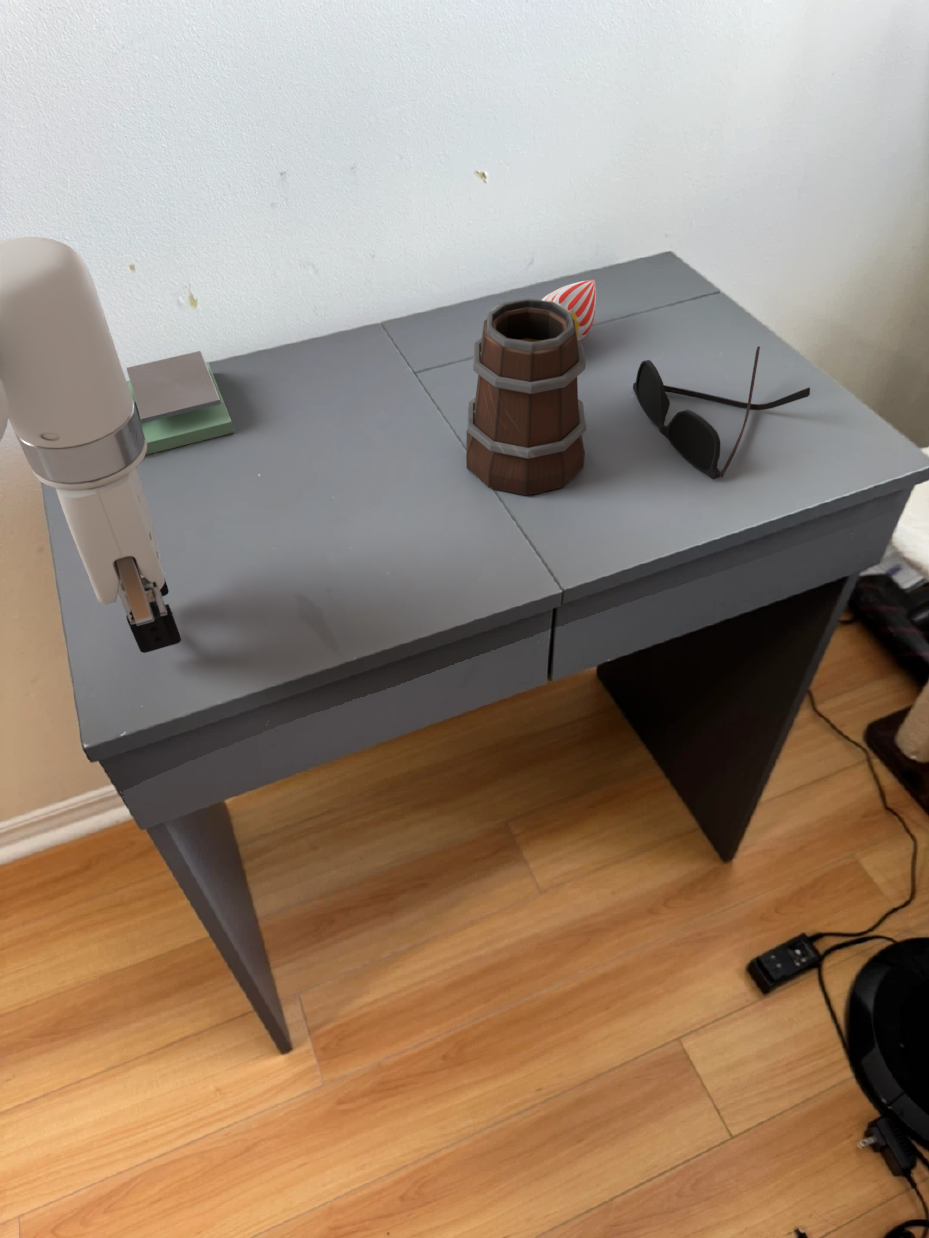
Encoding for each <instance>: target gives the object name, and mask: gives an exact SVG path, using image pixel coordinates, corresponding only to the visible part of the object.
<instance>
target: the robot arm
mask: <svg viewBox="0 0 929 1238" xmlns="http://www.w3.org/2000/svg"><path fill="white" fill-rule="evenodd" d="M109 327H110V326H109V324H108V322H107V318H106V316H105V313H104V310H103V307H102V303H101V300H100V298H99V293H98V291H97V288H96V285H95V282H94V279H93V276H92V274H91V271H90V268H89V267H88V265H87V263H86V261H85V260H84V258H83V257H82V256H81V254H79V252H78V251H76V250H75V249H74V248H73V247H71V246H69V245H68V244H66V243H63V242H62V241H58V240H56V239H53V238H47V237H41V236H40V237H39V236H24V237H23V236H21V237H14V238H9V239H8V238H7V239H3V240H0V442H1V441H2V439H3V438H4V435H5V433H6V429H7V428H8V423H10V425H11V428H12V430H13V432H14V434H15V437H16V438H17V440H18V443H19V445H20V447H21V450H22V452H23V454H24V456H25V458H26V460H27V463H28V464H29V468H30V469H31V471H32V473H33V475H34V477H35V478H36V479H37V480H38V481H39V482H41V483H42V484H44V485H46V486H48V487H50V488H53V489H55V492H56V495H57V497H58V501H59V504H60V506H61V509H62V512H63V515H64V518H65V521H66V523H67V526H68V528H69V532H70V534H71V536H72V539H73V541H74V544H75V547H76V549H77V552H78V554H79V556H80V559H81V561H82V564H83V567H84V569H85V571H86V573H87V576H88V579H89V581H90V584H91V586H92V588H93V591H94V594H95V597H96V600H97V601H98V602H99V603H100V604H102V605H104V606H106V605H109V604H113V603H117V600H118V596H119V598H120V600H121V603H122V605H123V609H124V610H125V613H126V615H125V618H126V621H127V624H128V625H129V628H130V631H131V633H132V635H133V637H134V640H135V643H136V645H137V647H138V649H139V652H141V653H143V654H146V653H151V652H153V651H156V650H159V649H160V650H161V649H165V648H167V647H171V646H174V645H177V644H179V643H181V642H182V638H181V634H180V631H179V629H178V626H177V623H176V620H175V617H174V614H172V612H173V611H172V610H171V609H172V608H171V607H170V604H169V603H167V604H165V601H164V599H163V597H166V596H167V595H168V594H169V592H170V591H169V587H168V584H167V581H166V578H165V576H164V570H163V565H162V559H161V555H160V550H159V549H160V548H159V544H158V540H157V534H156V530H155V526H154V522H153V518H152V514H151V510H150V507H149V503H148V499H147V496H146V494H145V493H146V492H145V490H144V487H143V483H142V481H141V478H140V475H139V471H138V469H137V468H138V467H139V466H140V464H141V463H142V462H143V461H144V459H145V456H146V455H145V454H146V451H147V442H146V439H145V436H144V433H143V430H142V427H141V424H140V421H139V418H138V415H137V412H136V409H135V406H134V403H133V400H132V397H131V394H130V390H129V387H128V384H127V382H128V381H127V379H126V375H125V372H124V370H123V367H122V364H121V361H120V358H119V355H118V352H117V349H116V346H115V343H114V340H113V336H112V334H111V331H110V328H109ZM8 421H9V422H8ZM140 575H143V576H144V578H141V576H140ZM148 590H151V591H152V594H153V597H154V600H155V602H154V601H153V602H150V603H149V601H148V598H147V595H146V592H145V591H148Z"/></svg>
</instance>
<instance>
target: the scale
mask: <svg viewBox="0 0 929 1238" xmlns="http://www.w3.org/2000/svg"><path fill="white" fill-rule="evenodd" d="M205 363H206V365H207V368H208V371H209V373H210V376H211V378H212V381H213V383H214V386H215V388H216V391H217V394H218V396H219V399H220V402H221V404H220V405H215V406H211V407H207V408H203V409H199V410H195V411H191V412H187V413H183V414H179V415H175V416H171V417H167V418H163V419H158V420H154V421H150V422H146V423H142V421H141V418H140V415H139V411H138V408H137V404H136V401H135V397H134V393H133V390H132V386H131V383H130V380H129V381H127V384H128V387H129V390H130V394H131V397H132V400H133V403H134V406H135V409H136V412H137V415H138V418H139V421H140V424H141V427H142V430H143V433H144V436H145V439H146V442H147V451H146V454H145V456H147V455H150V454H155V453H158V452H162V451H166V450H171V449H175V448H179V447H182V446H185V445H186V446H187V445H190V444H195V443H199V442H202V441H206V440H210V439H214V438H219V437H222V436H226V435H230V434H233V433H235V429H234V425H233V422H232V418H231V416H230V414H229V411H228V409H227V407H226V404H225V400H224V398H223V396H222V394H221V391H220V388H219V386H218V384H217V381H216V378H215V376H214V373H213V371H212V368H211V366H210V363H209V362H205Z"/></svg>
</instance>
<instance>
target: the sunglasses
mask: <svg viewBox="0 0 929 1238" xmlns="http://www.w3.org/2000/svg"><path fill="white" fill-rule="evenodd" d="M760 349H761V347H760V346H759V345H758V346H757V348H756V350H755V356H754V361H753V368H752V375H751V381H750V388H749V394H748V399H747V402H744V401H739V400H735V399H730V398H727V397H721V396H718V395H714V394H709V393H705V392H700V391H696V390H691V389H687V388H682V387H675V386H671V385H667V384H664V381H663V378H662V377H661V375H660V372H659V370H658V368H657V367H656V366H655V364H654V363H653V362H652V361H651V360H650V359H646V360H645V359H644V360H643V361H641V362H640V364H639V367H638V369H637V374H636V378H635V382H633V383H632V390H633V392H634V395H635V397H636V399H637V401H638V403H639V405H640V407H641V409H642V410H643V412H644V413H645V415H646V416H647V417H648V419H649V421H651V422H652V424H653V425H654V426H655V427H656V428H657V429H658V431H659V433H660V434H662V436H664V437H665V439H667V440H668V442H669V443H670V445H671V446H672V447H673V448H674V449H675V450H676V451H677V452H678V453H679V454H680V455H681V456H682V457H683V458H684V460H685V461H687V462H688V463H689V464H690V465H692V466H693V467H694V468H695V469H696V470H698V471H700V472H701V473H703V474H704V475H706V476H707V477H708V478H710V479H712V480H716V479H719V478H720V477H722V478H723V477H724V476H725V474H726V471H727V470H728V468H729V465H730V464H731V461H732V459H733V458H734V455H735V454H736V451H737V449H738V447H739V445H740V443H741V442H740V441H741V440H742V437H743V434H744V432H745V429H746V426H747V422H748V419H749V416H750V415H749V414H750V410H752V411H766V410H770V409H774V408H777V407H780V406H784V405H786V404H787V405H788V404H790V403H792V402H796V401H799V400H802V399H804V398H808V397H810V395H811V387H806V388H804V389H801V390H798V391H796V392H793V393H791V394H788V395H786V396H783V397H781V398H778V399H776V400H772V401H769V402H765V403H752V398H753V392H754V387H755V381H756V374H757V369H758V368H757V367H758V362H759V356H760ZM667 393H669V394H675V395H681V396H686V397H690V398H695V399H699V400H700V399H701V400H704V401H710V402H713V403H719V404H723V405H728V406H732V407H737V408H740V409H744V410H745V409H746V412H745V417H744V421H743V425H742V427H741V430H740V432H739V435H738V438H737V440H736V442H735V445H734V447H733V449H732V451H731V452H730V455H729V457H728V459H727V461H726V463H725V465H724V466H723V468H722V469H719V468H718V464H719V460H720V456H721V439H720V436H719V433H718V432H717V430H716V429H715V427H714V426H712V425H711V424H710V423H709V422H708V420H706V419H705V418H704V417H702V416H700V415H699V414H697V413H696V412H694V411H692V410H689V409H685V410H681V411H678V412H676V414H674V416H673V417H672V418H671V419H670V421H669V423H668V424H667V425H666V424H665V423H666V418H667V415H668V412H669V409H670V405H671V401H670V398H669V397H668V395H667Z"/></svg>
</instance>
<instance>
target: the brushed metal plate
mask: <svg viewBox="0 0 929 1238" xmlns="http://www.w3.org/2000/svg"><path fill="white" fill-rule="evenodd" d="M206 363H207V362H206V360H205V358H204V356H203V352H202V351H201V350H197V351H193V352H189V353H185V354H181V355H176V356H172V357H167V358H162V359H159V360H154V361H150V362H146V363H142V364H138V365H133V366H127V367H126V372H127V376H128V379H129V381H130V383H131V386H132V390H133V393H134V397H135V401H136V404H137V408H138V411H139V415H140V418H141V421H142V423H146V422H150V421H154V420H158V419H163V418H167V417H171V416H175V415H179V414H183V413H187V412H191V411H195V410H199V409H203V408H207V407H211V406H215V405H220V404H221V402H220V399H219V396H218V394H217V391H216V388H215V386H214V383H213V381H212V378H211V376H210V373H209V371H208V368H207V365H206Z"/></svg>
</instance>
